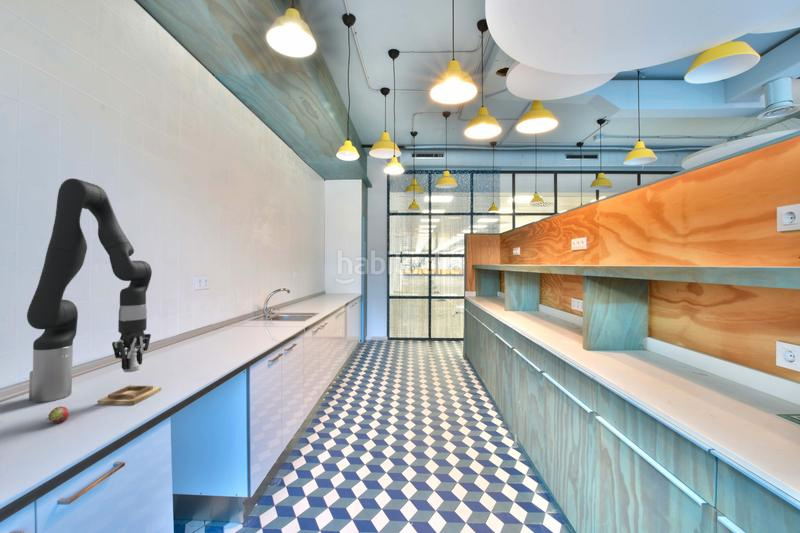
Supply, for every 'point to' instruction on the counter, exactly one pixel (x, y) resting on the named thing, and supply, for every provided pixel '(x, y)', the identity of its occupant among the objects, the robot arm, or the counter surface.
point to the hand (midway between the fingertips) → (132, 366)
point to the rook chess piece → (133, 361)
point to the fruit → (58, 415)
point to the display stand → (130, 395)
